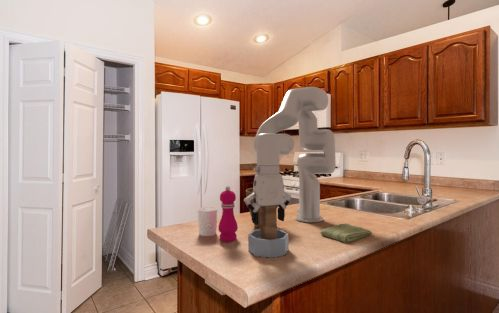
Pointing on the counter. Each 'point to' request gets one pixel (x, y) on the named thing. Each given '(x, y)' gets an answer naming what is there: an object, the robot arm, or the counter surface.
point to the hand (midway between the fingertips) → (268, 221)
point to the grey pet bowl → (268, 244)
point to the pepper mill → (227, 216)
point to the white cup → (207, 221)
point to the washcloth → (345, 232)
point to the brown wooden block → (268, 222)
